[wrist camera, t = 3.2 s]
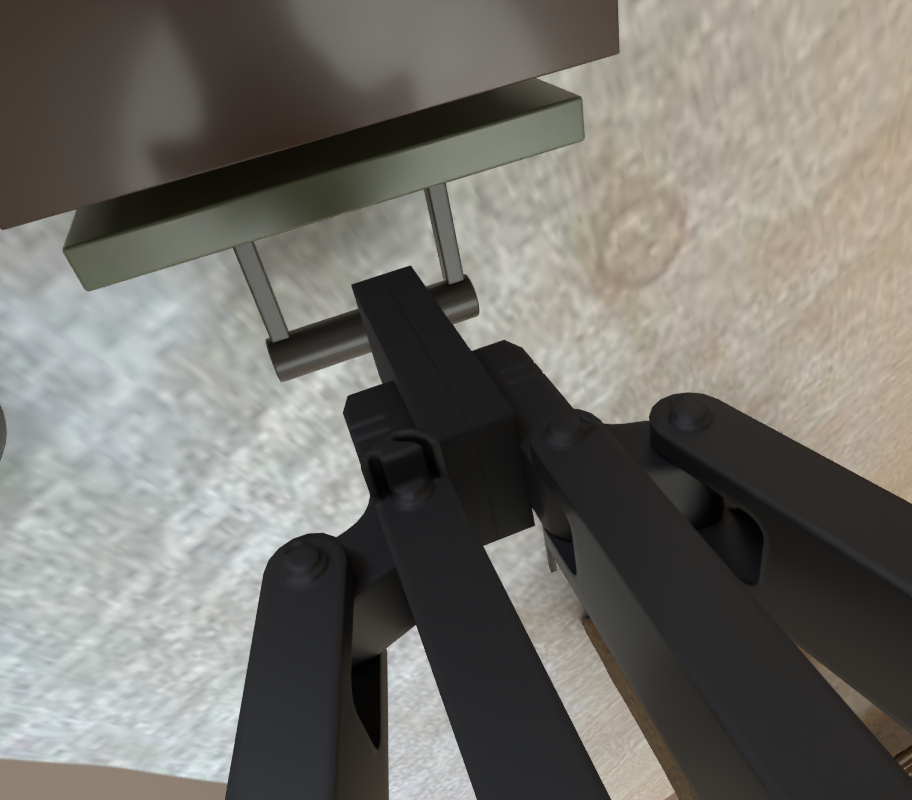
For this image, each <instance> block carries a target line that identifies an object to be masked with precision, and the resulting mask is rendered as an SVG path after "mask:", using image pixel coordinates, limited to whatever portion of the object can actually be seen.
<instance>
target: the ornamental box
mask: <svg viewBox="0 0 912 800" xmlns="http://www.w3.org/2000/svg"><path fill="white" fill-rule="evenodd" d="M582 625H583V626H584V629H585V631H586V633H587V635H588V637H589V638H590V640H591V642H592V644H593V646H594V647H595V649H596V651H597V652H598V654H599V656H600V658H601V660H602V661H603V663H604V665H605V668H606V670H607V672H608V674H609V675H610V677H611V679H612V681H613V683H614V684H615V686H616V688H617V689H618V691H619V693H620V694H621V696H622V698H623V699H624V701H625V703H626V704H627V706H628V708H629V710H630V712H631V713H632V715H633V717H634V719H635V720H636V722H637V724H638V726H639V727H640V729H641V731H642V732H643V734H644V736H645V738H646V740H647V742H648V743H649V745H650V747H651V749H652V750H653V752H654V754H655V756H656V757H657V759H658V761H659V763H660V764H661V766H662V768H663V770H664V772H665V774H666V776H667V777H668V779H669V781H670V783H671V785H672V787H673V789H674V791H675V793H676V794H677V796H678V798H679V800H700V799H699V798H698V796H697V795H696V793H695V791H694V790H693V788H692V786H691V785H690V783H689V781H688V780H687V778H686V776H685V775H684V773H683V771H682V770H681V768H680V766H679V765H678V763H677V761H676V760H675V758H674V756H673V755H672V753H671V751H670V750H669V748H668V746H667V745H666V743H665V741H664V740H663V738H662V736H661V735H660V733H659V731H658V730H657V728H656V726H655V725H654V723H653V721H652V720H651V718H650V716H649V715H648V713H647V711H646V710H645V708H644V706H643V705H642V703H641V701H640V700H639V698H638V696H637V695H636V693H635V691H634V690H633V688H632V686H631V685H630V683H629V681H628V680H627V678H626V676H625V675H624V673H623V671H622V670H621V668H620V666H619V665H618V663H617V661H616V660H615V658H614V656H613V655H612V653H611V651H610V650H609V648H608V646H607V645H606V643H605V641H604V640H603V638H602V636H601V635H600V633H599V632H598V630H597V628H596V627H595V625H594V623H593V622H592V620H591V618H585V619H583V620H582ZM795 645H796V646H797V647H798V648H799V649H800V650H801V651H802V653H803V654H804V655H805V656H806V657H807V658H808V660H809V661H810V662H811V663H812V664H813V665H814V666H815V668H816V669H817V670H818V671H819V672H820V673H821V674H822V676H823V677H824V678H825V679H826V680H827V681H828V683H829V684H830V685H831V686H832V687H833V688H834V689H835V691H836V692H837V693H838V694H839V695H840V696H841V698H842V699H843V700H844V701H845V702H846V703H847V704H848V706H849V707H850V708H851V709H852V710H853V711H854V712H855V714H856V715H857V716H858V717H859V718H860V719H861V721H862V722H863V723H864V724H865V725H866V726H867V727H868V729H869V730H870V731H871V732H872V733H873V734H874V735H875V737H876V738H877V739H878V740H879V741H880V742H881V744H882V745H883V746H884V747H885V748H886V749H887V750H888V752H889V753H890V754H891V755H892V756H893V757H894V758H895V760H896V761H897V762H898V763H899V764H900V765H901V767H902V768H903V769H904V770H905V771H906V772H907V773H908V775H909V776H910V777H911V778H912V734H911V733H909V732H908V731H907V730H905V729H904V728H903V727H902V726H900V725H899V724H898V723H897V722H895V721H894V720H893V719H891V718H890V717H889V716H888V715H886V714H885V713H884V712H882V711H881V710H880V709H879V708H877V707H876V706H875V705H873V704H872V703H871V702H870V701H868V700H867V699H866V698H865V697H863V696H862V695H861V694H859V693H858V692H857V691H856V690H854V689H853V688H852V687H850V686H849V685H848V684H847V683H845V682H844V681H843V680H842V679H840V678H839V677H838V676H836V675H835V674H834V673H833V672H831V671H830V670H829V669H827V668H826V667H825V666H824V665H822V664H821V663H820V662H818V661H817V660H816V659H815V658H813V657H812V656H811V655H810V654H808V653H807V652H806V651H804V650H803V649H802V648H801V647H799V646H798V645H797V644H795Z"/></svg>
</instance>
